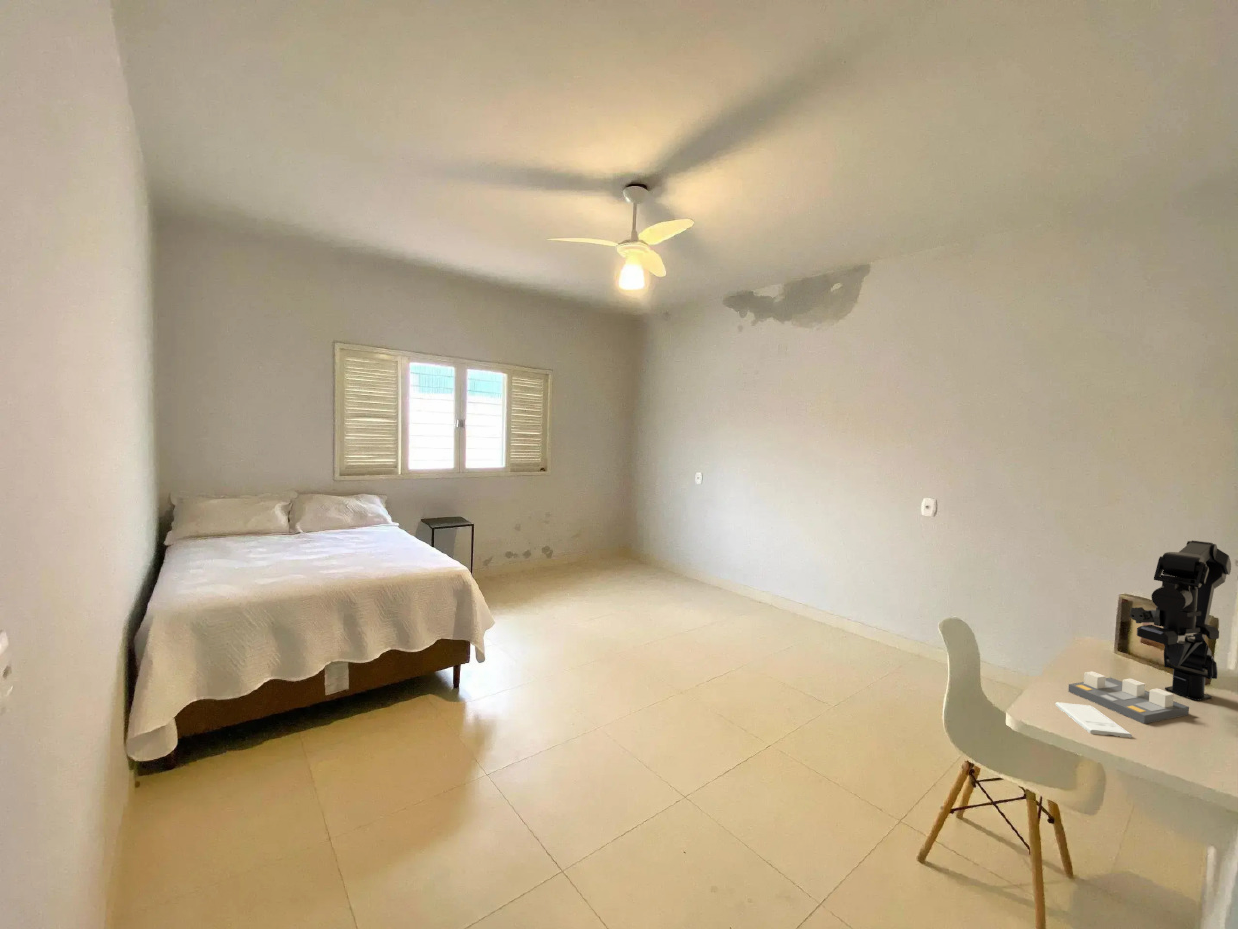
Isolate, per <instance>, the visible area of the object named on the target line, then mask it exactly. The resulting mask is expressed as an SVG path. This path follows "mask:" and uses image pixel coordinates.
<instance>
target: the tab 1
mask: <svg viewBox="0 0 1238 929" xmlns="http://www.w3.org/2000/svg"><path fill="white" fill-rule="evenodd" d="M1083 674H1084V675H1083V682H1084V684H1086V685H1089V686H1091V687H1094V688H1096V689H1099V688H1105V679H1106V678H1107V676H1106V675H1103V674H1101V673H1098V672H1095V671H1092V670H1091V671H1087V672H1086V671H1085V672H1084V673H1083Z"/></svg>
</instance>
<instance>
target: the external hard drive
mask: <svg viewBox="0 0 1238 929" xmlns="http://www.w3.org/2000/svg"><path fill="white" fill-rule="evenodd" d="M1054 705H1056V706H1057V707H1058V708H1059V709H1058V708H1057V707H1056V706H1055V707H1056V708H1057V709H1058V710H1060V711H1061V712H1062V711H1063V712H1065V713H1066V714H1067V715H1068V716H1067V715H1066V714H1065V713H1064V714H1065V715H1066V716H1067V717H1069V718H1070V719H1071V718H1072V719H1073V721H1074V722H1075V723H1076V724H1077V725H1079V727H1081V728H1082V729H1084V730H1085V731H1086V730H1087V733H1089V734H1090V733H1091V734H1092V735H1099V736H1100V735H1101V736H1113V737H1118V736H1120V738H1127V737H1129V739H1132V738H1133V734H1132V733H1130V732H1129V731H1127V730H1126V729H1125V728H1123V727H1122V726H1121V725H1119V724H1118V723H1117V722H1115V721H1114V720H1113V719H1111V718H1110V717H1108V716H1107V715H1105V714H1104V713H1102V711H1100V710H1099V709H1097V708H1095V707H1094V706H1093V705H1089V704H1081V703H1080V704H1078V703H1070V702H1069V703H1068V702H1061V701H1057V702H1055V704H1054ZM1063 712H1062V713H1063Z"/></svg>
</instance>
